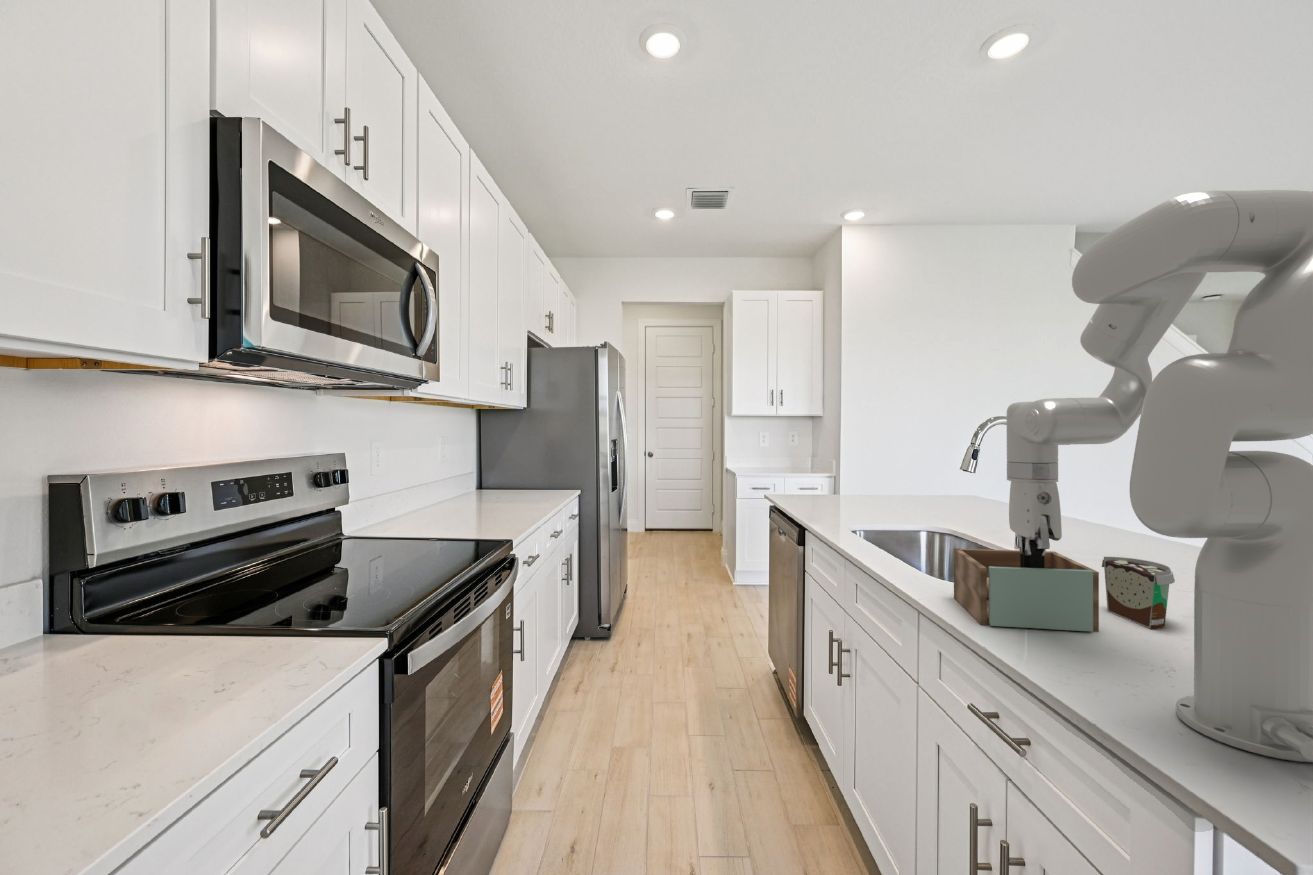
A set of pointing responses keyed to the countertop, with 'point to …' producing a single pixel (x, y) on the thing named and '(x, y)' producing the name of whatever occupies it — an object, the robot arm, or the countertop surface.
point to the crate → (976, 562)
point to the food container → (1137, 590)
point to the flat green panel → (1041, 598)
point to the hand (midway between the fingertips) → (1032, 577)
